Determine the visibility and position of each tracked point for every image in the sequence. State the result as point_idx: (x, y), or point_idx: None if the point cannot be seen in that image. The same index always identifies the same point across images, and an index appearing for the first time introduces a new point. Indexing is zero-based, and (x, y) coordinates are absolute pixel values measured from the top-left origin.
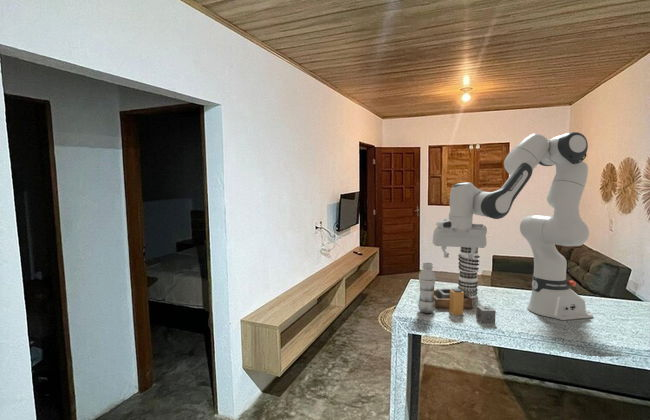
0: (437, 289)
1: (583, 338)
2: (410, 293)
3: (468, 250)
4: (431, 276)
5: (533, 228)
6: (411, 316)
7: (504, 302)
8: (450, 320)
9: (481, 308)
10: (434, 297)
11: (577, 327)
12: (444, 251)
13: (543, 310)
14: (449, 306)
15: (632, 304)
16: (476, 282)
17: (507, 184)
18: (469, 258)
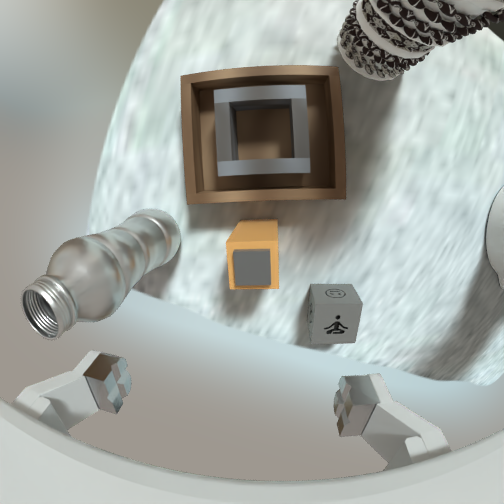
0: (214, 101)
1: (460, 369)
2: (149, 42)
3: None
4: (96, 321)
5: None
6: None
7: (464, 140)
8: (219, 300)
9: (319, 326)
10: (185, 177)
11: (494, 321)
12: (72, 416)
13: (499, 264)
14: (238, 223)
15: None
16: (423, 57)
17: None
18: (338, 400)
